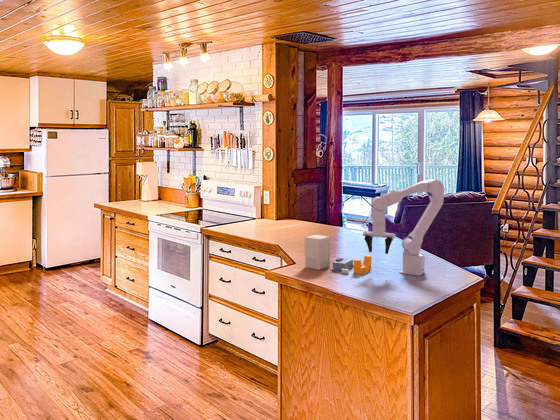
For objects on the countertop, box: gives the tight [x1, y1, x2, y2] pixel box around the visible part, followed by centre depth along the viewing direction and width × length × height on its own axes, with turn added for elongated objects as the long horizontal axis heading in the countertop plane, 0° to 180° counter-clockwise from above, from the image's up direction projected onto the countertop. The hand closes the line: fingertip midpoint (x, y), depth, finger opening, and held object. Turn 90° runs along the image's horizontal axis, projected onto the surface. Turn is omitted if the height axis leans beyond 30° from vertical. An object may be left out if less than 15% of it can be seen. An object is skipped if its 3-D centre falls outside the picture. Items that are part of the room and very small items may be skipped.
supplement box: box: [304, 234, 331, 271], centre depth 234 cm, size 9×9×15 cm
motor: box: [329, 257, 363, 275], centre depth 231 cm, size 10×17×4 cm, turn 149°
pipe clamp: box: [353, 254, 372, 276], centre depth 226 cm, size 12×4×6 cm, turn 141°
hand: (378, 252), depth 222 cm, fingers open, 7 cm apart
